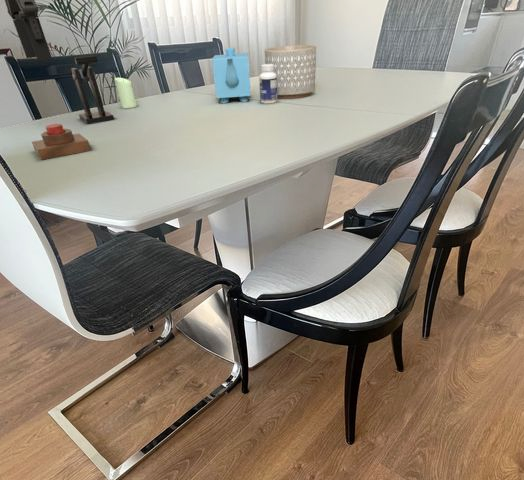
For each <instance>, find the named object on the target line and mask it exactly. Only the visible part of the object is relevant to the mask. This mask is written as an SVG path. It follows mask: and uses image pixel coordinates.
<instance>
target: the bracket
mask: <svg viewBox="0 0 524 480" xmlns="http://www.w3.org/2000/svg"><path fill="white" fill-rule="evenodd" d="M70 70H71V73H72V74H71V75H72V79H73V81H74V83H75V87H76V89H77V92H78V95H79V98H80V102H81V105H82V108H83V111H84V113H81V114H78V117H79V119H80V120H81V121H82V122H84V123H85V124H87V125H90V124H96V123H97V124H98V123H102V122H108V121H114V120H115V117H114V115H113V114H112V113H110V112H108V111H106V110H105V107H104V104H103V101H102V96H101V93H100V89H99V87H98V86H99V85H98V82H97V80H96V79H97V78H96V73H95V71H94V69H93V67H92V66H88V71H87V72H88V74H89V77H90V79H89V85H90V88H91V91H92V94H93V98H94V102H95V105H96V108H97V111H91V108H90V104H89V101H88V98H87V95H86V92H85V88H84V85H83V82H82V81H81V78H80V75H79V71H78V70H79V68H76V67H71V68H70Z"/></svg>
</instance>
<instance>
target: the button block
mask: <svg viewBox="0 0 524 480" xmlns="http://www.w3.org/2000/svg"><path fill="white" fill-rule="evenodd" d="M63 129H64V133H60V134H54V135H48V133H47V131H45V132H42V133H40V136H41V139H39V140H34V141H31V144H32V146H33V149H34V151H35V153H36V154H37V155H38V157H39V158H40V160H41V161H44V160H49V159H55V158H59V157H64V156H70V155H75V154H80V153H84V152H91V151H92V150H91V149H92V148H91V145H90V144H89V140H88V139H87V138H86V137H84V135H82V134H81V133H73V131H72V130H71V129H70V128H63Z"/></svg>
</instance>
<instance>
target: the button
mask: <svg viewBox="0 0 524 480" xmlns="http://www.w3.org/2000/svg"><path fill="white" fill-rule="evenodd" d="M64 129H65V128H64V126H63V124H62V123H53V124H52V123H51V124H48V125H46V126H45V130H46V132H47V133H48V135H54V134H60V133H64Z"/></svg>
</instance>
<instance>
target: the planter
mask: <svg viewBox="0 0 524 480" xmlns="http://www.w3.org/2000/svg"><path fill="white" fill-rule="evenodd" d="M264 64H274V73H276V75H277V99H284V100H285V99H299V98H304V97H308V96H309V95H311V93H312V92H314V91H315V90H316V71H317V70H316V68H317V46H316V45H313V44H298V45H281V46H273V47H267V48H265V49H264Z"/></svg>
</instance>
